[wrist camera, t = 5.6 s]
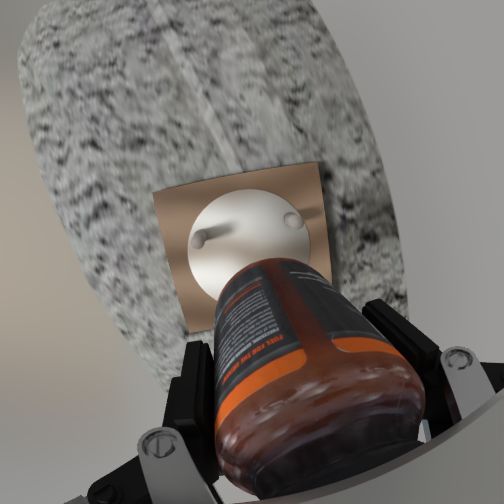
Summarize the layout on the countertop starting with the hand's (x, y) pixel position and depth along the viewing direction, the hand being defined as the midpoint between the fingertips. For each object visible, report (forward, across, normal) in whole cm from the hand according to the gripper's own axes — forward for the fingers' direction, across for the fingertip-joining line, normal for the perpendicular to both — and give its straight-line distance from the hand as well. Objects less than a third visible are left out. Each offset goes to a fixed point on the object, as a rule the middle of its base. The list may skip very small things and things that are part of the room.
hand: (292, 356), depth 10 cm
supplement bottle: (+4, 0, 0) cm, 4 cm away
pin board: (+19, 0, 0) cm, 19 cm away
